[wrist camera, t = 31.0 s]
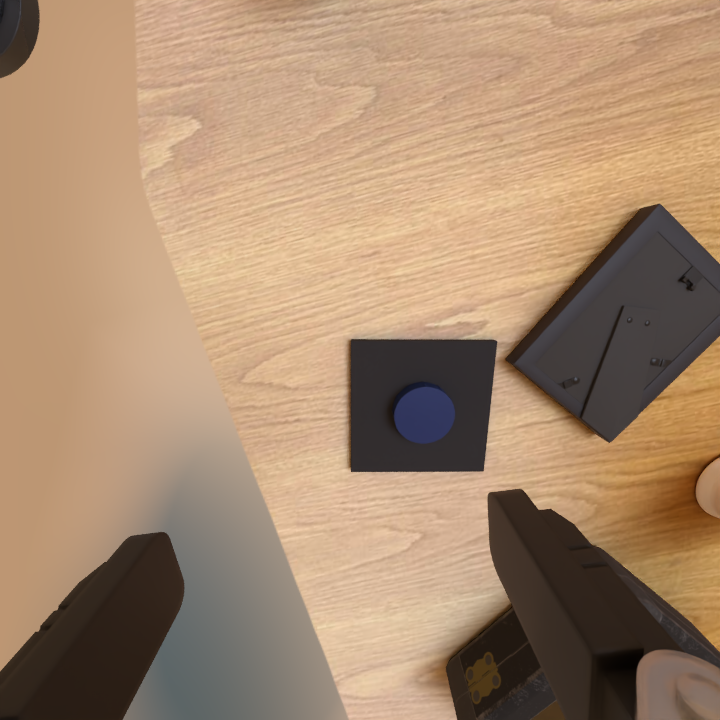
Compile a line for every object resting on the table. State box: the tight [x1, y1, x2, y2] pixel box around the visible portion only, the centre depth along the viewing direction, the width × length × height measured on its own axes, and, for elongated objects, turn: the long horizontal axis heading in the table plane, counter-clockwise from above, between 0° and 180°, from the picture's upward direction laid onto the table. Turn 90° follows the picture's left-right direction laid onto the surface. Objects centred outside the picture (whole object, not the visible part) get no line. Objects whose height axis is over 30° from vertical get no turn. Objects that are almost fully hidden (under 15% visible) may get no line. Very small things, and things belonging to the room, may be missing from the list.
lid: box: [392, 381, 455, 444], centre depth 33 cm, size 6×6×2 cm
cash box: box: [446, 546, 720, 720], centre depth 39 cm, size 25×20×8 cm
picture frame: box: [506, 204, 720, 443], centre depth 32 cm, size 13×2×18 cm
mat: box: [351, 339, 497, 472], centre depth 34 cm, size 14×14×1 cm
